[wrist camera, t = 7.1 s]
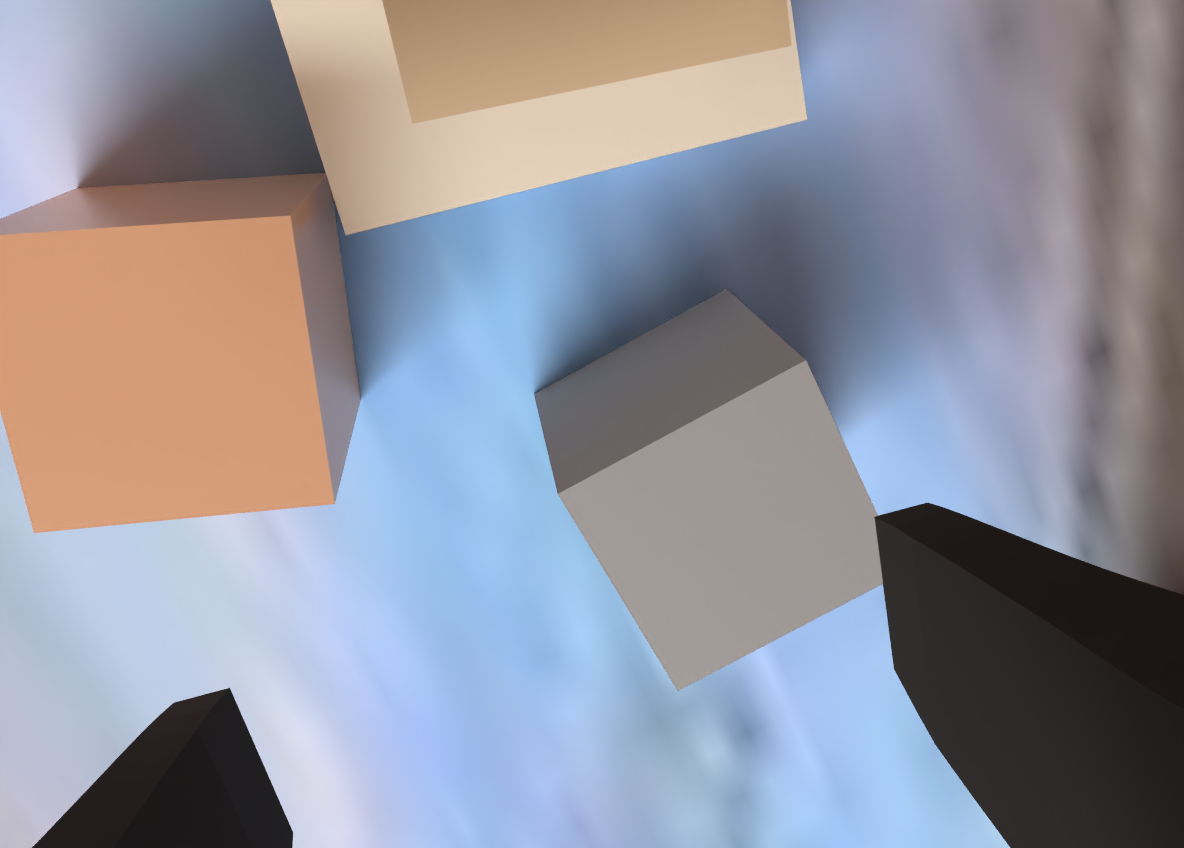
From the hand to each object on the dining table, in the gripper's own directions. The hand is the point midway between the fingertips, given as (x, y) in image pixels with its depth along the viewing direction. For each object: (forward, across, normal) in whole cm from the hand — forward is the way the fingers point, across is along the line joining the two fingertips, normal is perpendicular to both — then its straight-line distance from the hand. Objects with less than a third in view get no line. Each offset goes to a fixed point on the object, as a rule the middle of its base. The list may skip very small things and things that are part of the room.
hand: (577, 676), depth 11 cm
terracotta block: (+10, +5, -3) cm, 12 cm away
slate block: (+10, -3, +2) cm, 11 cm away
